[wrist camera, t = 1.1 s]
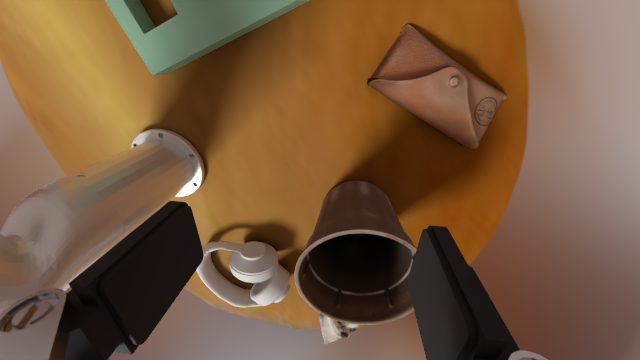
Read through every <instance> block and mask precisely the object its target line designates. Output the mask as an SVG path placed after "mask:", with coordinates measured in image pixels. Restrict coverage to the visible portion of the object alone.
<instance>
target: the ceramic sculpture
mask: <svg viewBox="0 0 640 360" xmlns="http://www.w3.org/2000/svg"><path fill="white" fill-rule="evenodd" d="M319 319H320V325H321V330H322V335H323V338H324V342H325V344H328V343H329V342H333V341H336V340H338V339H339V338H340V337H343V338H346V337H348V336H350V334H351V332H353V331H355V330H357V329H358V327H359V326H361V325H358V324H349V323H344V322H340V321H336V320H333V319H331V318H328V317H326V316H324V315H322V314H321V313H320V315H319Z"/></svg>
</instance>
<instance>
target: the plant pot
mask: <svg viewBox="0 0 640 360" xmlns="http://www.w3.org/2000/svg"><path fill="white" fill-rule="evenodd" d="M416 250H417V248H416V247H415V246H414V245H413V243H412V241H411V239H410V238H409V236H408V235H407V234H406V233H405V232H404V230H403V228H402V226H401V224H400V222H399V220H398V218H397V216H396V213H395V211H394V209H393V207H392V205H391V203H390V201H389V198H388V197H387V195H386V194H385V193H384V192H383V191H382V190H381V188H379V187H378V186H376V185H374V184H372V183H369V182H365V181H346V182H343V183H341V184H339V185H338V186H337V187H335V188H334V189H332V190H330V191H329V192H328V194H327V195H326V197H325V199H324V201H323V205H322V208H321V211H320V215H319V218H318V221H317V224H316V226H315V229H314V232H313V235H312V236H311V237H310V239H309V241H308V243H307V246H306V248H305V250H304V251H303V252H302V254H301V255H300V257H299V259H298V261H297V264H296V267H295V272H294V278H295V284H296V287H297V290H298V292H299V294H300V295H301V297H302V298H303V299H304V300H305V302H306V303H307V304H308V305H309V306H311V307H312V308H313V309H315V310H316V311H317V312H319V313H321V314H322V315H324V316H326V317H328V318H331V319H333V320H336V321H340V322H344V323H349V324H358V325H374V324H381V323H387V322H391V321H395V320H397V319H400V318H402V317H404V316H406V315H408V314H410V313H411V312H413V311H414V307H413V303H412V299H411V295H410V291H409V287H408V276H409V273H410V269H411V266H412V263H413V260H414V257H415V253H416Z"/></svg>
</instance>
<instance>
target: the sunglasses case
mask: <svg viewBox="0 0 640 360" xmlns="http://www.w3.org/2000/svg"><path fill="white" fill-rule="evenodd" d="M367 84H368V85H369V86H371V87H372V88H374V89H375V90H377V91H378V92H379V93H381V94H382V95H384V96H385V97H387V98H389V99H390V100H392V101H393V102H395V103H396V104H398V105H399V106H401V107H403V108H404V109H406V110H407V111H409V112H411V113H412V114H414V115H415V116H417V117H418V118H420V119H421V120H423V121H425V122H426V123H428V124H429V125H431V126H433V127H434V128H436V129H437V130H439V131H440V132H442V133H443V134H445V135H447V136H448V137H450V138H452V139H453V140H455V141H456V142H458V143H460V144H462V145H464V146H465V147H467V148H469V149H475V148H477V147H478V146H479V145H480V143H479V142H480V140H481V139H482V137H483V135H484V133H485V132H486V130H487V128H488V126H489V124H490V123H491V121H492V119H493V117H494V115H495V113H496V112H497V110H498V108H499V106H500V104H501V103H502V101H503V100H504V99H506V98H507V96H506V94H505V93H503V92H502V91H500V90H498V89H497V88H495V87H493V86H492V85H490V84H488V83H486V82H485V81H483V80H482V79H480V78H479V77H477V76H476V75H474V74H473V73H471V72H470V71H469V70H467V69H466V68H465V67H463V66H461V65H460V64H459V63H458V62H456V61H455V60H453V59H452V58H451V57H449V56H448V55H447V54H445V53H444V52H443V51H441V50H440V49H439V48H437V47H436V46H435V45H434V44H432V43H431V42H430V41H429V40H428V39H427V38H425V37H424V36H423V35H422V34H421V33H420V32H418V31H417V30H416V29H415V28H414V27H412V26H411V25H409V24H406V25H405V26H404V27H402V30H401V32H400V34H399V36H398V38H397V39H396V40H395V42H394V43H393V45H392V46H391V48H390V49H389V51H388V52H387V54H386V55H385V57H384V59H383V60H382V61H381V63H380V64H379V66H378V67H377V69H376V71H375V72H374V74H373V75H372V78H371V79H368V81H367Z"/></svg>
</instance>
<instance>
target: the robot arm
mask: <svg viewBox="0 0 640 360" xmlns="http://www.w3.org/2000/svg"><path fill="white" fill-rule="evenodd" d="M204 177H205V169H204V164H203V161H202V159H201V157H200V155H199V153H198V152H197V150H196V149H195V148H194V146H193V145H192V144H191V143H190V142H188V141H187V140H186V139H185V138H183V137H182V136H180V135H179V134H177V133H175V132H172V131H169V130H166V129H159V128H158V129H150V130H147V131H144V132H142V133H140V134H139V135H137V136H136V137H135V139H134V140H133V142H132V145H131V149H129V150H126V151H124V152H122V153H119V154H117V155H115V156H112V157H110V158H108V159H106V160H103V161H101V162H99V163H96V164H94V165H92V166H89V167H87V168H85V169H83V170H80V171H78V172H76V173H73V174H71V175H69V176H66V177H64V178H62V179H60V180H57V181H55V182H53V183H51V184H48V185H46V186H44V187H41V188H39V189H37V190H35V191H34V192H32V193H31V194H29V195H28V196H26V197H25V198H24V199H23V200H22V201H21V202H20V203H19V204H18V205H17V206H16V207H15V208H14V210H13V211H12V212H11V214H10V216H9V217H8V219H7V221H6V223H5V225H4V227H3V228H2V230H1V232H0V360H109V357H110V356H111V354H112V353H113V352H114V351H115V350H116V352H118V353H124V354H131V355H132V354H133V353H134V351H135V350H136V349H137V347H138V346H139V345H141V344H143V343H144V342H145V341H146V340H147V338H148V337H149V335H150V334H151V333H152V331H153V330H154V328H155V327H156V326H157V324H158V323H159V321H160V320H161V318H162V317H163V316H164V314H165V313H166V312H167V310H168V309H169V307H170V306H171V304H172V303H173V302H174V300H175V299H176V297H177V296H178V295H179V293H180V291H181V290H182V289H183V288H184V286H185V285H186V283H187V282H188V281H189V279H190V278H191V276H192V275H193V274H194V272H195V271H196V269H197V268H198V267H199V265H200V264H201V262H202V260H203V257H204V253H203V249H202V245H201V242H200V238H199V235H198V231H197V227H196V224H195V220H194V216H193V213H192V209H191V207H190V206H188V204H187V203H185V202H177V201H170V200H171V199H172V198H174V197H175V196H177V197H178V196H187V195H190V194H192V193H194V192H195V191H196V190H197V189H198V188H199V187H200V186H201V185H202V183H203V181H204ZM69 287H71V288H72V290H71V291H70V292H68V293H67V294H66V292H65V291H66V290H67V289H68V288H69ZM408 287H409V291H410V295H411V299H412V303H413V307H414V311H415V314H416V319H417V323H418V327H419V331H420V335H421V338H422V342H423V346H424V351H425V354H426V359H427V360H547V359H546V358H544V357H542V356H540V355H538V354H535V353H532V352H529V351H520V350H519V348H518V346H517V344H516V343H515V341H514V339H513V337H512V336H511V334H510V332H509V330H508V329H507V327H506V325H505V323H504V322H503V320H502V318H501V317H500V315H499V313H498V311H497V309H496V308H495V306H494V304H493V302H492V301H491V299H490V297H489V296H488V294H487V292H486V290H485V288H484V287H483V285H482V283H481V281H480V280H479V278H478V276H477V275H476V273H475V271H474V270H473V268H472V267H470V266H469V265H468V264H467V263H466V261H465V259H464V257H463V255H462V254H461V252H460V250H459V248H458V246H457V245H456V243H455V241H454V239H453V237H452V236H451V234H450V232H449V230H448V229H447V228H446V227H440V226H429V227H428V228H427V229H423V231H422V234H421V237H420V240H419V244H418V247H417V250H416V253H415V257H414V260H413V263H412V266H411V269H410V273H409V276H408Z"/></svg>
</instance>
